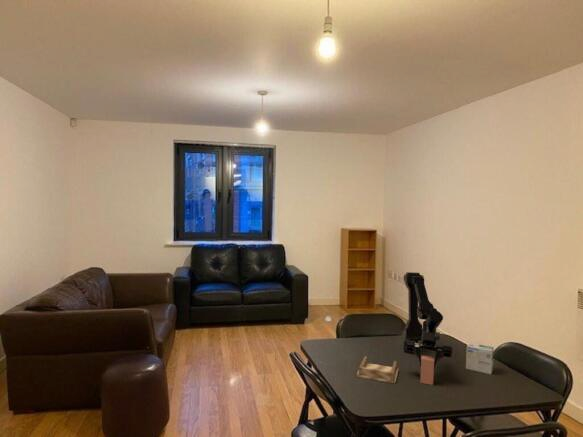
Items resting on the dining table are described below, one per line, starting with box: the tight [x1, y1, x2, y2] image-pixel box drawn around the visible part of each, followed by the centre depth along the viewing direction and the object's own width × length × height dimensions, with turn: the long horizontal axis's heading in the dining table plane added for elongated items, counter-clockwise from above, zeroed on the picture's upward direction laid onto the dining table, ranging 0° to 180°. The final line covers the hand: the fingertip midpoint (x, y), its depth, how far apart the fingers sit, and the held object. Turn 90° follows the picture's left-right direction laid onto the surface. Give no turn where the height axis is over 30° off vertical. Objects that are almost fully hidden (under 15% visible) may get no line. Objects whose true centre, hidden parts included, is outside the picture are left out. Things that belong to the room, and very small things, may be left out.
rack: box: [356, 355, 399, 384], centre depth 173 cm, size 16×14×4 cm
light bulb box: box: [465, 342, 495, 375], centre depth 181 cm, size 11×7×11 cm, turn 58°
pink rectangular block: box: [419, 355, 435, 386], centre depth 166 cm, size 5×4×10 cm
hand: (427, 367), depth 165 cm, fingers closed on pink rectangular block, 5 cm apart
